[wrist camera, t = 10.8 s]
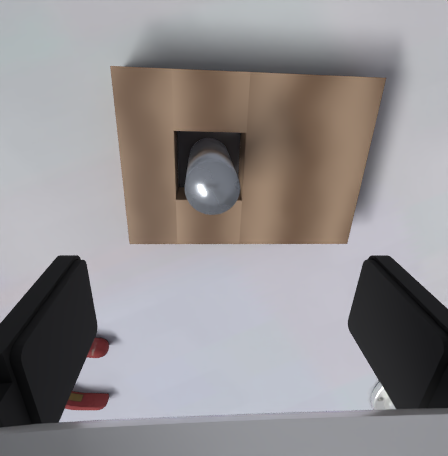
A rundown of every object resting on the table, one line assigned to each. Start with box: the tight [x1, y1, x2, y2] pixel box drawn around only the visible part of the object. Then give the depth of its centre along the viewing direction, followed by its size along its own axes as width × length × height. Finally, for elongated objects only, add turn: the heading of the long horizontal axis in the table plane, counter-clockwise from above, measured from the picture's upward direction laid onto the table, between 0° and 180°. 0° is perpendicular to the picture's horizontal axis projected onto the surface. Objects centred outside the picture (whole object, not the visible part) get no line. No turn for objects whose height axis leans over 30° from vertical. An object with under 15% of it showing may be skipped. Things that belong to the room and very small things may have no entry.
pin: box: [185, 138, 240, 215], centre depth 24 cm, size 4×4×9 cm
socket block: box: [110, 66, 386, 244], centre depth 27 cm, size 20×14×4 cm
